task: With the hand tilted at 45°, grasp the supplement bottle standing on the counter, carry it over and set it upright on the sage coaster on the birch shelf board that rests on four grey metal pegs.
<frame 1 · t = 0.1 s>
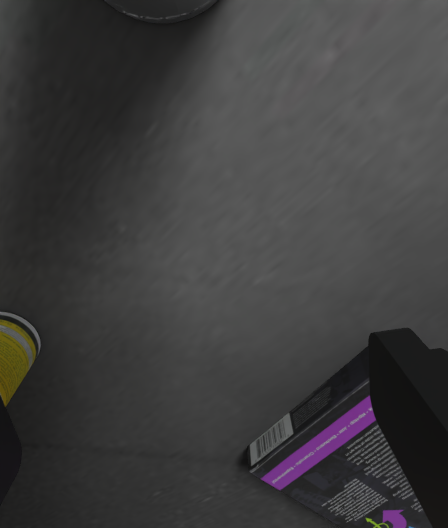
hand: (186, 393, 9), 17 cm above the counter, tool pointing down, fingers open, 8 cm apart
supplement bottle: (8, 337, 29), on the counter
box: (381, 446, 35), on the counter
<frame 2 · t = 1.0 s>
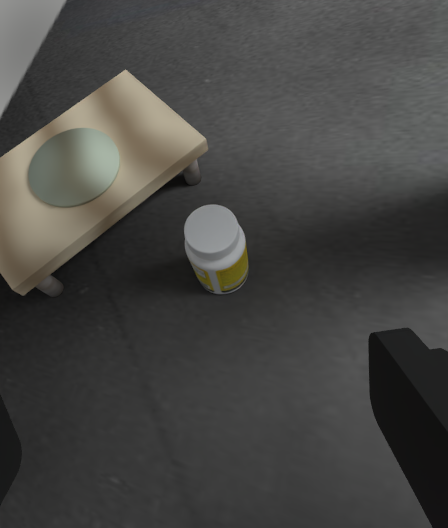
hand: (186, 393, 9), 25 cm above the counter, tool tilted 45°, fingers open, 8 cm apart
supplement bottle: (222, 271, 37), on the counter
shelf stand: (101, 203, 41), on the counter
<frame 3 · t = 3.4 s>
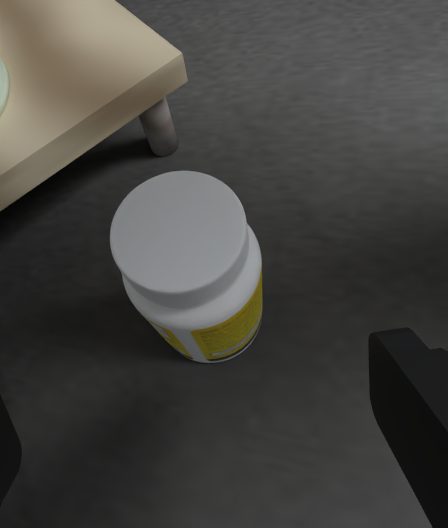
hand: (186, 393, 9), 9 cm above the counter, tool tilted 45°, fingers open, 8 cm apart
supplement bottle: (211, 314, 19), on the counter
shelf stand: (0, 184, 23), on the counter
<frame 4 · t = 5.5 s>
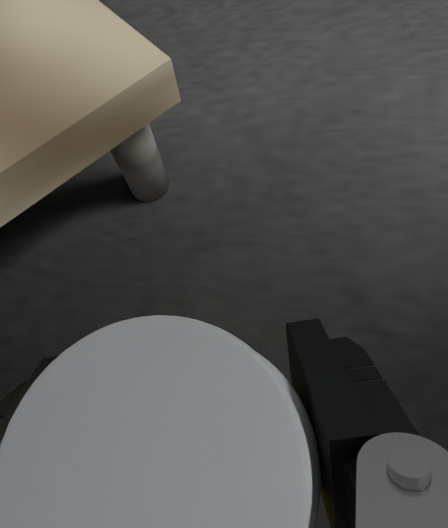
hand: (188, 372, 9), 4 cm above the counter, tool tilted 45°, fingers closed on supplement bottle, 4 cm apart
supplement bottle: (217, 455, 13), on the counter, touching gripper
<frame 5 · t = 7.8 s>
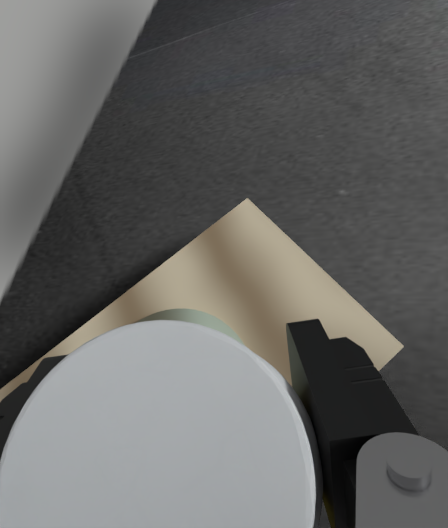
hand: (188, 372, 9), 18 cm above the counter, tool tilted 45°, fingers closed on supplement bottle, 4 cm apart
supplement bottle: (218, 457, 13), point 13 cm above the counter, touching gripper
shelf stand: (194, 397, 26), on the counter
when the fingers open (12 cm above the counter, at t = 9.9 s): supplement bottle drops 1 cm, resting on shelf stand.
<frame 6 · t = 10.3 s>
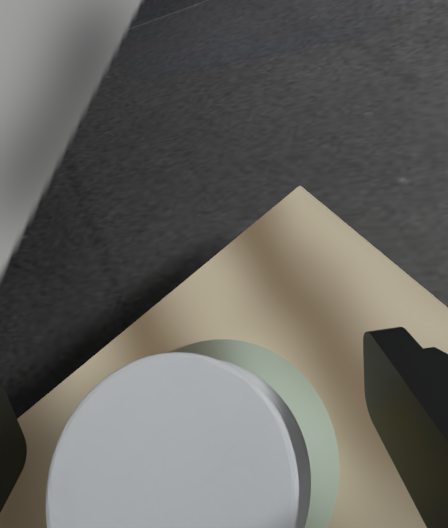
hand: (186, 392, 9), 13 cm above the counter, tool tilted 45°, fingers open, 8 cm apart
supplement bottle: (223, 461, 14), point 6 cm above the counter, touching shelf stand
shelf stand: (232, 451, 20), on the counter
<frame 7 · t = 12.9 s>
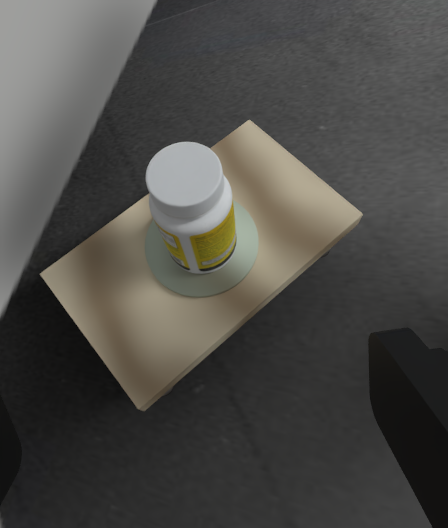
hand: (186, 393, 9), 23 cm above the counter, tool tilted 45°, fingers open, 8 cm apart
supplement bottle: (202, 245, 29), point 6 cm above the counter, touching shelf stand
shelf stand: (209, 274, 34), on the counter
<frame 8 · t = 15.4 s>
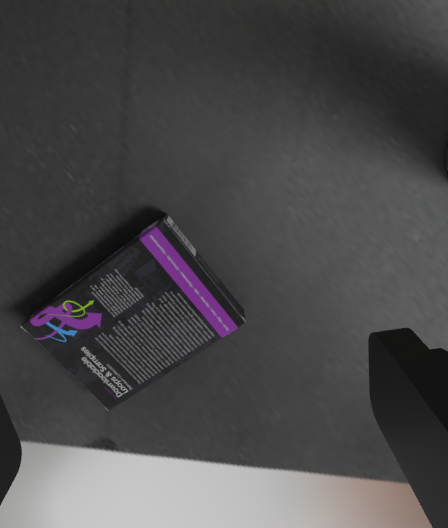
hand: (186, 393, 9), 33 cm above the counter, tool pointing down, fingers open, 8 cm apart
box: (138, 309, 46), on the counter
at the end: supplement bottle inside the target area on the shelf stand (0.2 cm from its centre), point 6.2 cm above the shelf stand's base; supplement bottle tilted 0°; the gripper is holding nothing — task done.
